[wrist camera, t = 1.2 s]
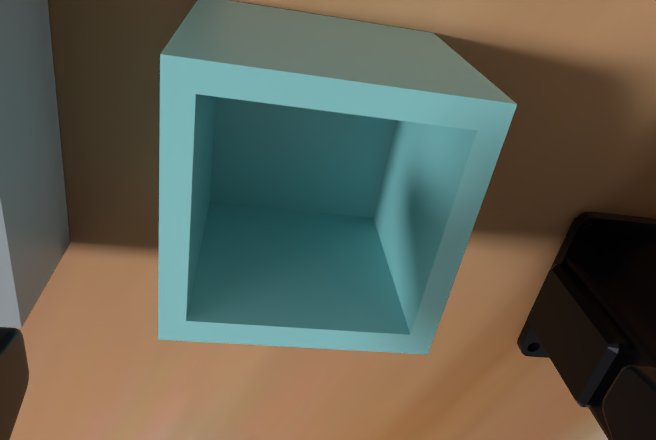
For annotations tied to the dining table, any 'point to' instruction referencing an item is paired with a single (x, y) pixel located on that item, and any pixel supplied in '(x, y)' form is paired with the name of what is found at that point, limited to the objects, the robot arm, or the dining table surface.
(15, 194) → the big crate
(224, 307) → the small crate
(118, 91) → the dining table surface
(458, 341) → the dining table surface
